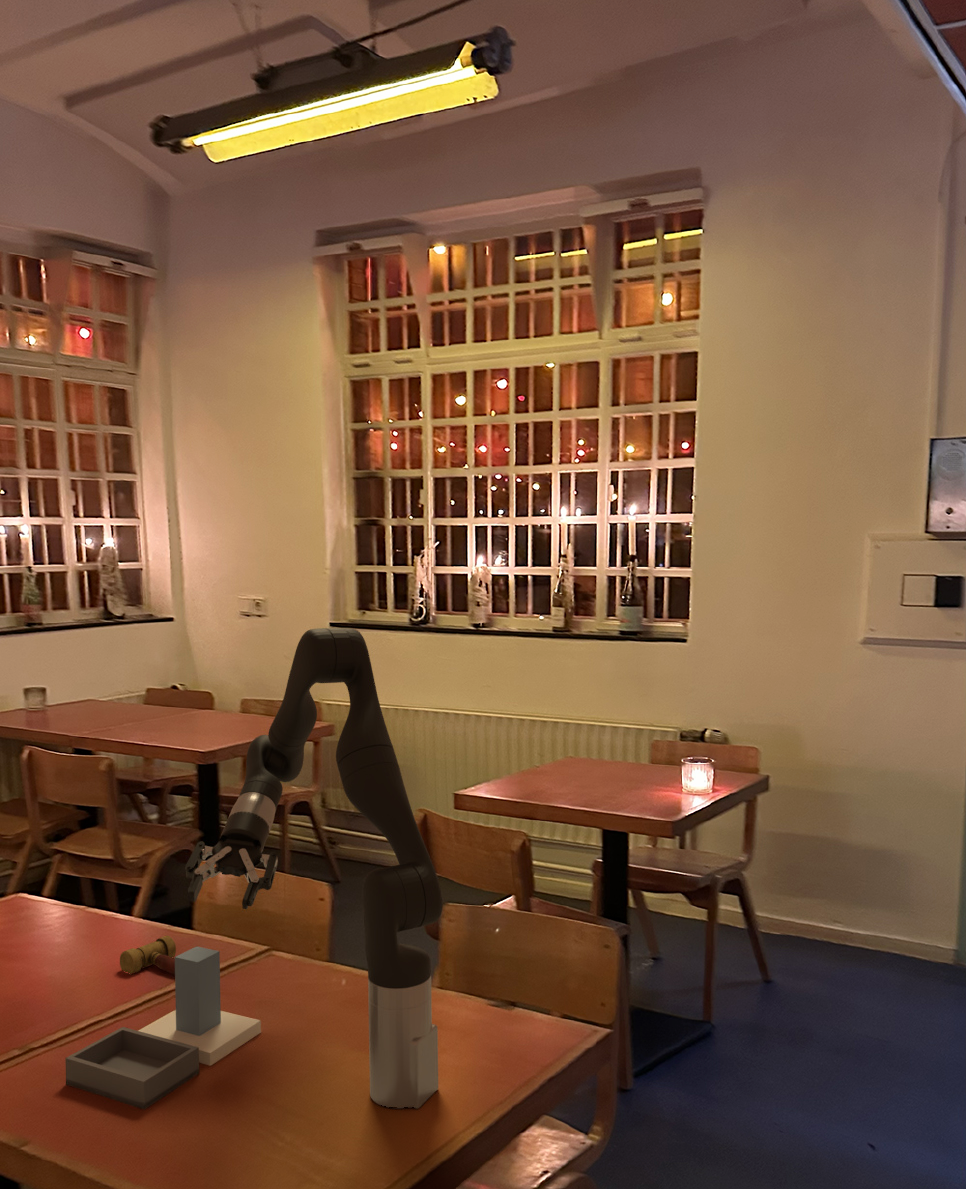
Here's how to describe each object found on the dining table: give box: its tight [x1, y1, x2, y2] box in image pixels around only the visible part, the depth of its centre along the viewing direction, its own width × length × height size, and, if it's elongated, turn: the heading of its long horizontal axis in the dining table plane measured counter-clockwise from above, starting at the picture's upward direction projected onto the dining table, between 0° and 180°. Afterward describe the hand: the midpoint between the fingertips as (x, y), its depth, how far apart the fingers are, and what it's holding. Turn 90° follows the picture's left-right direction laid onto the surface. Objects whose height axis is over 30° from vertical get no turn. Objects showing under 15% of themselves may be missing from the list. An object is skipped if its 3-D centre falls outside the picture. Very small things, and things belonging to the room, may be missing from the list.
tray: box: [64, 1026, 200, 1110], centre depth 144 cm, size 16×11×4 cm
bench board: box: [137, 1009, 262, 1067], centre depth 157 cm, size 16×12×2 cm
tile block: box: [174, 945, 222, 1036], centre depth 157 cm, size 5×5×12 cm
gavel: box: [119, 935, 177, 976], centre depth 183 cm, size 21×5×10 cm
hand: (218, 902), depth 153 cm, fingers open, 8 cm apart
